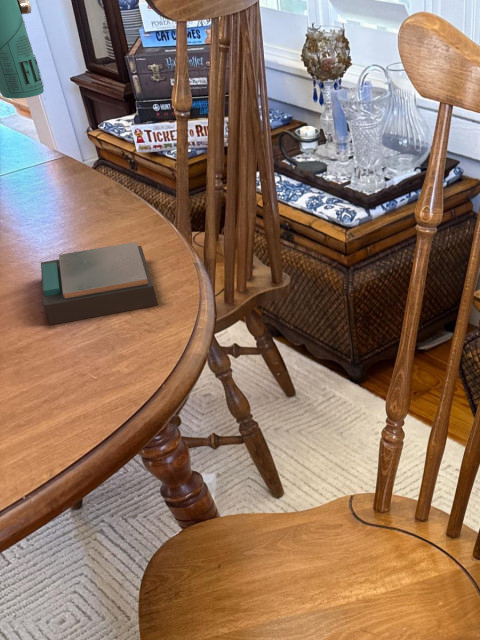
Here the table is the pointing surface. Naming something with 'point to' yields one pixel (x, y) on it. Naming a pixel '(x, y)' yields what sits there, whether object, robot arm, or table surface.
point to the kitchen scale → (96, 283)
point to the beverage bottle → (16, 55)
